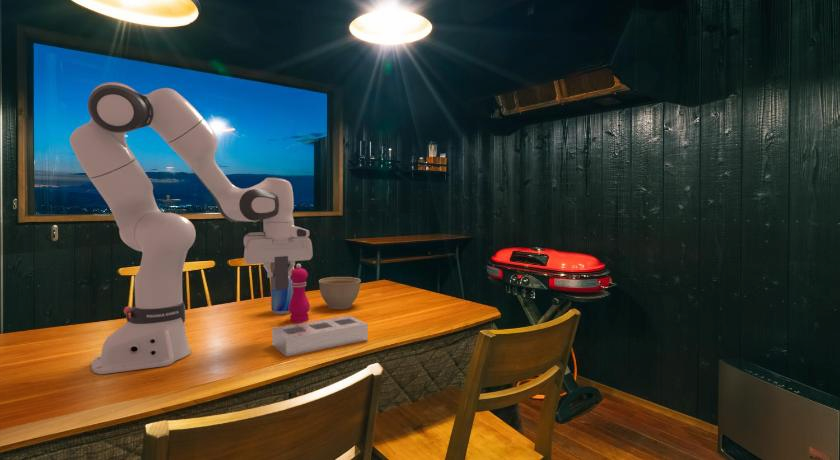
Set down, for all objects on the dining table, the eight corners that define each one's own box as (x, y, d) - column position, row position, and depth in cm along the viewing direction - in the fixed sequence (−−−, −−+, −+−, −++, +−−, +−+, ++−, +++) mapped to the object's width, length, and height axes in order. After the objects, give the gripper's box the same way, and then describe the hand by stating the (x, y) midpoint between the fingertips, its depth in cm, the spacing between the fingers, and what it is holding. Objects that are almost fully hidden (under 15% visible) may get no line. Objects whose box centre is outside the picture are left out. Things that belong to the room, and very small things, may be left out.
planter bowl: (357, 312, 171) (357, 283, 170) (314, 312, 171) (314, 283, 170) (363, 302, 187) (363, 276, 186) (324, 302, 187) (324, 276, 186)
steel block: (275, 290, 136) (274, 257, 135) (271, 288, 139) (270, 255, 139) (288, 288, 138) (287, 256, 138) (283, 286, 142) (283, 254, 141)
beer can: (299, 311, 172) (298, 269, 171) (282, 316, 165) (281, 272, 164) (284, 308, 176) (283, 267, 175) (266, 313, 169) (265, 270, 168)
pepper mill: (304, 323, 156) (303, 265, 154) (285, 322, 157) (283, 264, 156) (313, 317, 163) (312, 262, 161) (294, 316, 164) (293, 262, 163)
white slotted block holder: (286, 356, 123) (286, 338, 122) (272, 344, 132) (272, 328, 132) (367, 340, 137) (367, 323, 137) (349, 330, 147) (349, 315, 147)
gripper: (246, 233, 129) (247, 281, 130) (314, 230, 141) (314, 275, 142) (240, 232, 134) (241, 278, 135) (306, 229, 146) (307, 272, 147)
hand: (279, 276), depth 138 cm, fingers closed on steel block, 4 cm apart
